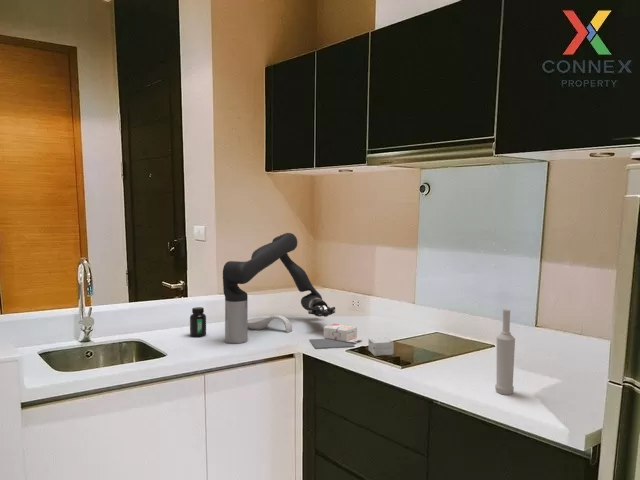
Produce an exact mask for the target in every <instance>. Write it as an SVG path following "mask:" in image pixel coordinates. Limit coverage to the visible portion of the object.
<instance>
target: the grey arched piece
mask: <svg viewBox="0 0 640 480" xmlns="http://www.w3.org/2000/svg"><path fill="white" fill-rule="evenodd" d="M274 319H278V320H280V321H281V322H283V324H284V327H285V333H286V334H287V333H291V332H292V331H293V326H292V323H291V321H290V320H289V319H288V317H287V318H286V317H285V316H284V315H282V314H274V315H271V316H269V317H256V318H255V317H254V318H249V319H248V329H250V330H254V331H255V330H263V329H265V328H266V327H268V325H269V324H271V322H272V321H273V320H274Z"/></svg>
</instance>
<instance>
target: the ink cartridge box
mask: <svg viewBox="0 0 640 480" xmlns="http://www.w3.org/2000/svg"><path fill="white" fill-rule="evenodd" d="M323 339H333V340H339V341H344V342H351V343H356V342H358V341H360V340H363V337H362V338H361V337H358V327H357V326H350V325H345V324H344V325H343V324H338V323H332V324H329V325H326V326H323Z"/></svg>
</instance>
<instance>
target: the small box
mask: <svg viewBox="0 0 640 480" xmlns="http://www.w3.org/2000/svg"><path fill="white" fill-rule="evenodd" d="M394 344H395V343H394V341H393V340H392V339H390V338H389V337H387V336H384V337H383V336H382V337H381V336H380V337H369V338H368V351H369V352H370V353H371V354H372V355H373V356H374V357H379V356H391V355H392V356H393V355H395V354H394V352H395V351H394V349H395V348H394V346H395V345H394Z"/></svg>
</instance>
